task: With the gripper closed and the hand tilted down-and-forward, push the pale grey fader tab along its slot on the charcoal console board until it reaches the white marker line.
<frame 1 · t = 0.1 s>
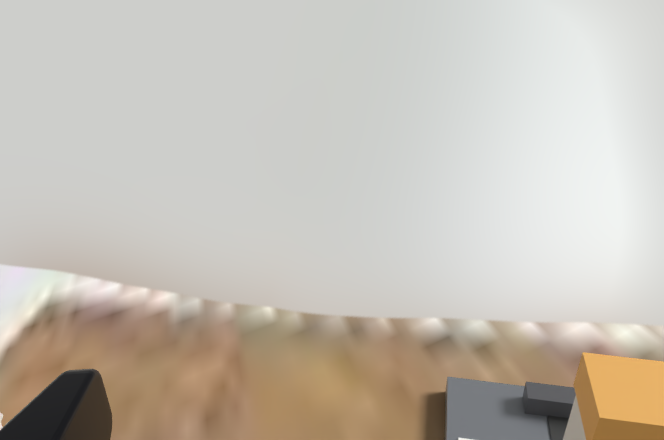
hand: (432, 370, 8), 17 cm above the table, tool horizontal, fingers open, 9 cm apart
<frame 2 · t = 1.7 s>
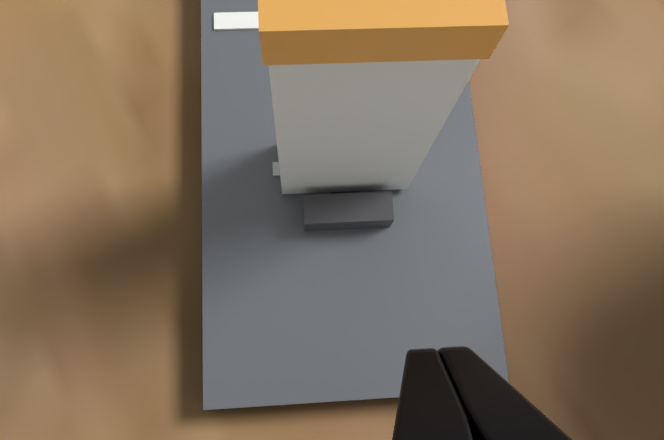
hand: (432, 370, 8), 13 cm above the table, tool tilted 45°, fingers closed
fader: (356, 99, 16), point 6 cm above the table, slide at 0.0 cm
console: (339, 150, 22), on the table
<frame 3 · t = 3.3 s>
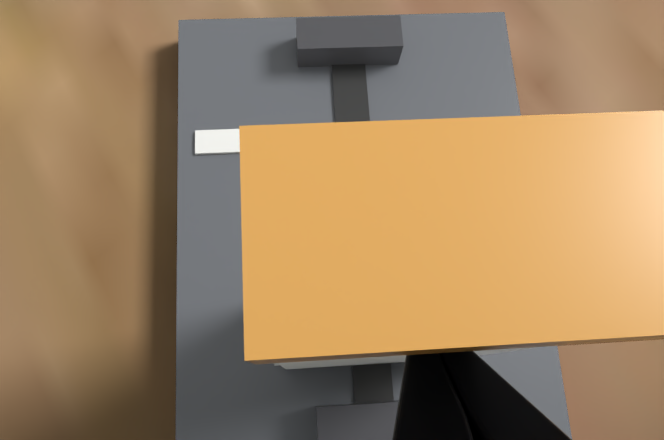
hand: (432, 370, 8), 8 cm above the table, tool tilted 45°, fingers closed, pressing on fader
fader: (400, 298, 10), point 6 cm above the table, slide at 0.6 cm, touching gripper
console: (363, 315, 17), on the table
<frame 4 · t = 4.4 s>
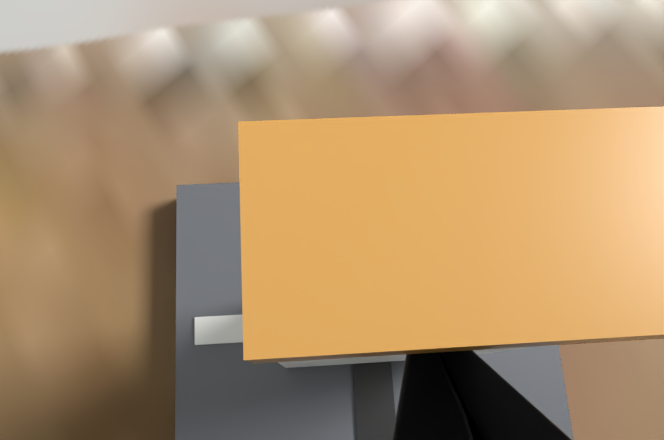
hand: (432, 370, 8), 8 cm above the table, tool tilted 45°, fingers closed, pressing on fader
fader: (401, 296, 10), point 6 cm above the table, slide at 5.9 cm, touching gripper
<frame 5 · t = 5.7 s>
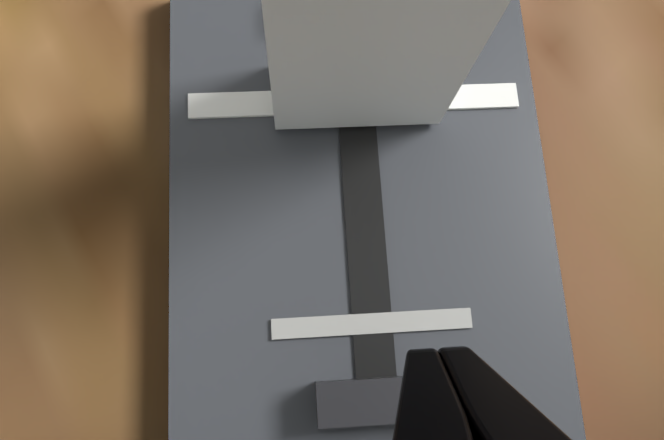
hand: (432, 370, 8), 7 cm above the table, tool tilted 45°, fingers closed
console: (364, 288, 16), on the table
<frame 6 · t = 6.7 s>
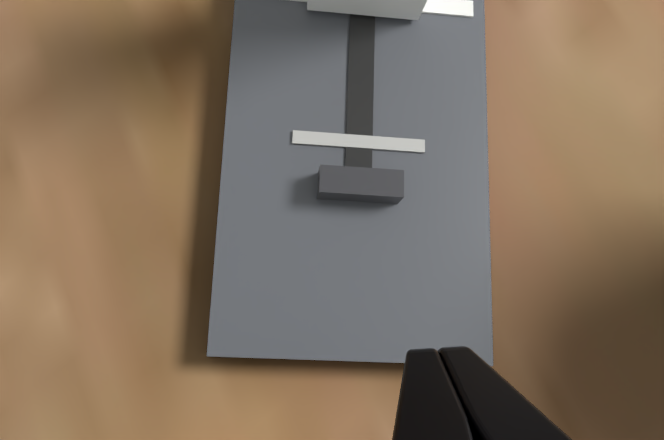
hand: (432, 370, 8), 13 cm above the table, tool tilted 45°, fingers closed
console: (355, 126, 23), on the table
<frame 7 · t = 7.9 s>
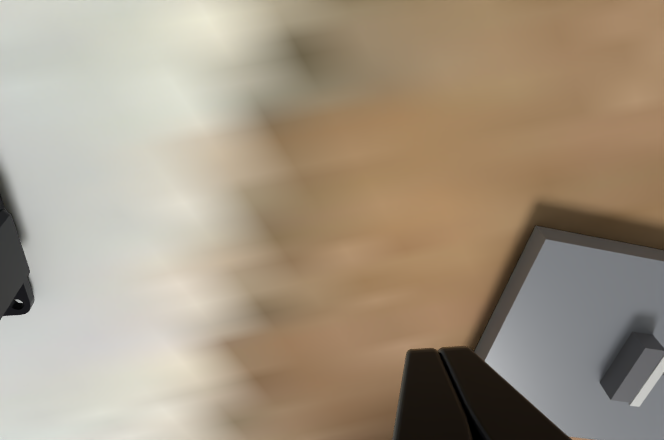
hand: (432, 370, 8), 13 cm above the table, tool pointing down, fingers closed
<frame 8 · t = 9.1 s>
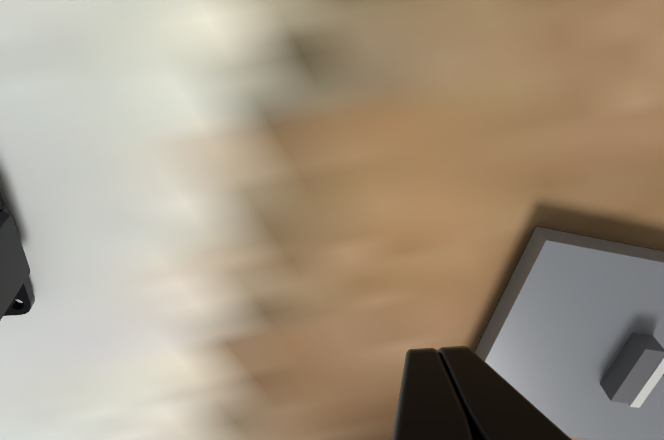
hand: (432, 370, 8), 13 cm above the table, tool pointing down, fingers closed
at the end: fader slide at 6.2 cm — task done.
